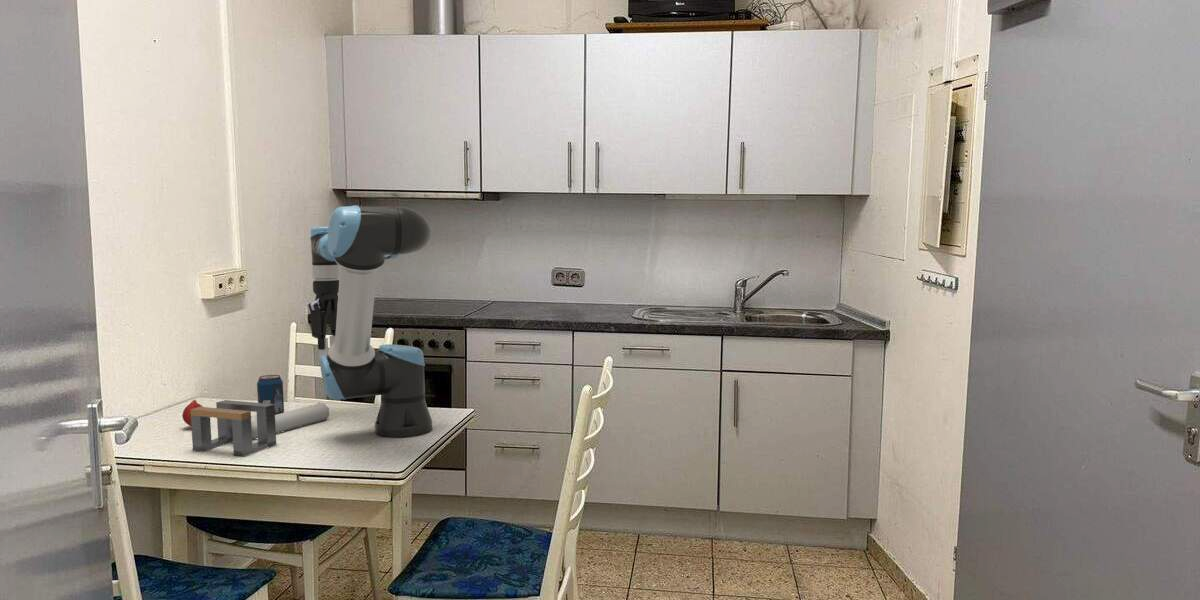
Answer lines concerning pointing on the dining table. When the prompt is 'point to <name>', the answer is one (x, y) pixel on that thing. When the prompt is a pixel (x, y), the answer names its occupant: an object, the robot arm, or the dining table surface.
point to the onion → (189, 412)
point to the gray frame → (234, 426)
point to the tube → (296, 418)
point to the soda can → (271, 392)
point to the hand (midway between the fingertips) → (329, 358)
